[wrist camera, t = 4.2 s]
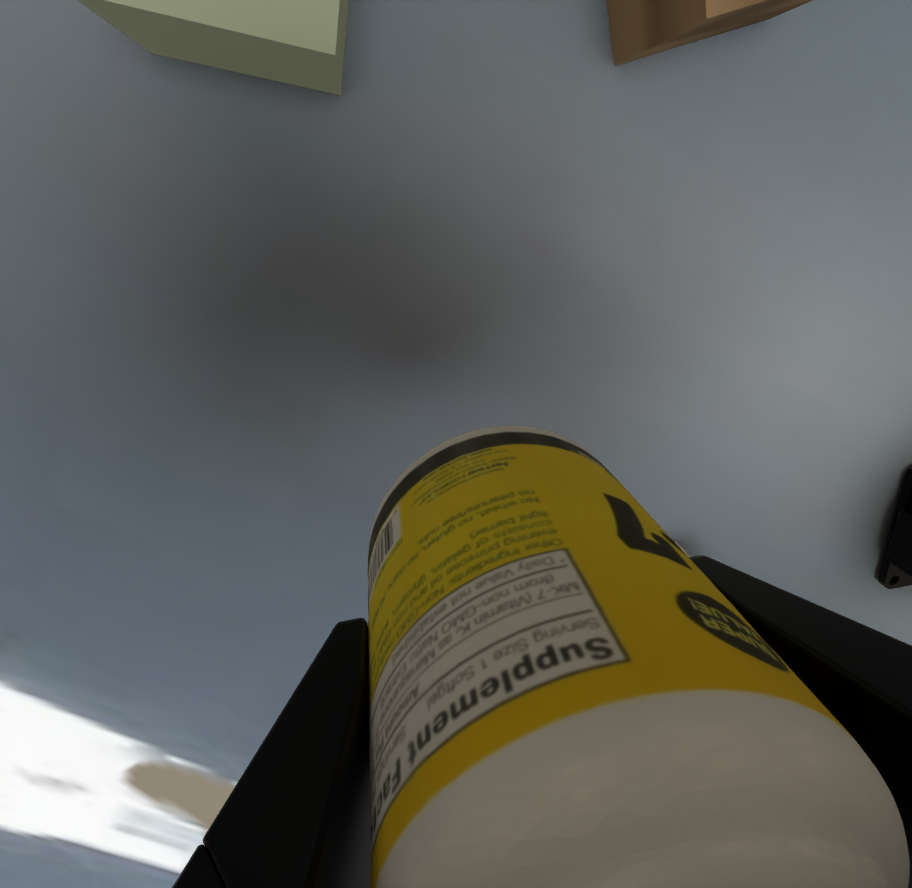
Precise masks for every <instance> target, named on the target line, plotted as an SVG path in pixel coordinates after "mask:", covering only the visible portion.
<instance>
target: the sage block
mask: <svg viewBox="0 0 912 888" xmlns="http://www.w3.org/2000/svg"><path fill="white" fill-rule="evenodd" d="M78 1H79V2H81V3H82V4H83V5H85V6H86V7H88V8H89V9H90V10H92V11H93V12H95V13H96V14H97V15H99V16H100V17H101V18H103V19H104V20H106V21H107V22H108V23H110V24H111V25H113V26H114V27H115V28H117V29H118V30H120V31H121V32H122V33H124V34H125V35H126V36H128V37H129V38H131V39H132V40H133V41H135V42H136V43H138V44H139V45H140V46H142V47H143V48H145V49H146V50H147V51H149V52H150V53H152V54H157V55H161V56H165V57H170V58H174V59H179V60H183V61H188V62H192V63H197V64H201V65H206V66H210V67H215V68H219V69H224V70H228V71H233V72H237V73H242V74H246V75H251V76H255V77H260V78H264V79H269V80H273V81H278V82H282V83H287V84H291V85H296V86H300V87H305V88H309V89H314V90H318V91H322V92H327V93H331V94H336V95H340V96H341V90H342V78H343V66H344V54H345V41H346V29H347V17H348V5H349V0H78Z"/></svg>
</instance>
